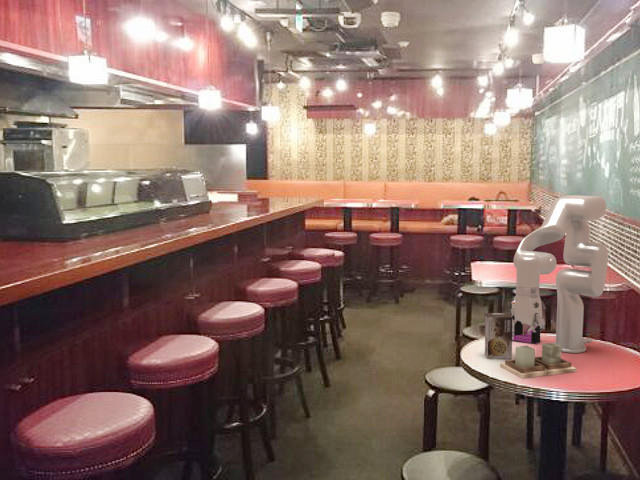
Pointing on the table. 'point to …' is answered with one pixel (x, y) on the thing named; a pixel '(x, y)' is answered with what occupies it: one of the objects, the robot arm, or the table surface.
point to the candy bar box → (526, 330)
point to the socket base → (542, 364)
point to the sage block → (525, 356)
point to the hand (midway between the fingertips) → (526, 338)
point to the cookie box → (498, 336)
